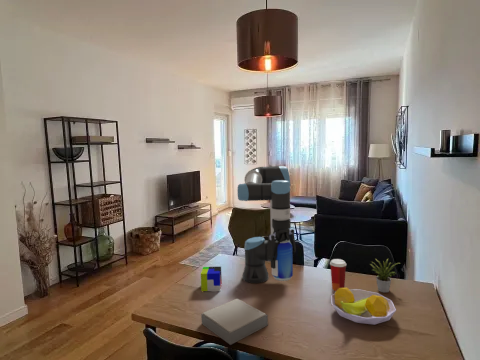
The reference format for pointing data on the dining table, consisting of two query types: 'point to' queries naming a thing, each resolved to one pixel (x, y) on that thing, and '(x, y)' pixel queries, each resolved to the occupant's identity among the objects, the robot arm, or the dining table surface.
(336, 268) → the coffee cup
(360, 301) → the fruit bowl
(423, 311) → the dining table surface
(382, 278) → the house plant
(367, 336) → the dining table surface
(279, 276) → the beer can
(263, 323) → the plinth
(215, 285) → the puzzle toy
